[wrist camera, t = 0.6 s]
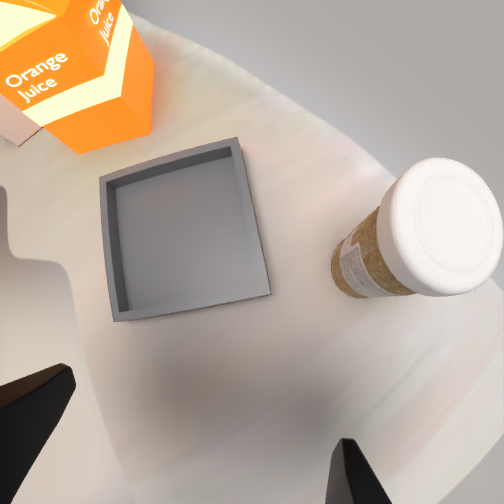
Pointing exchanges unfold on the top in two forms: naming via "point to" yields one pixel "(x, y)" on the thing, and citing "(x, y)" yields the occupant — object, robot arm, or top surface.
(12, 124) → the jar
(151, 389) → the top surface
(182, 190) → the tray
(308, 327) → the top surface
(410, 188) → the spice shaker
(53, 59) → the orange juice
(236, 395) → the top surface
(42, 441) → the robot arm
